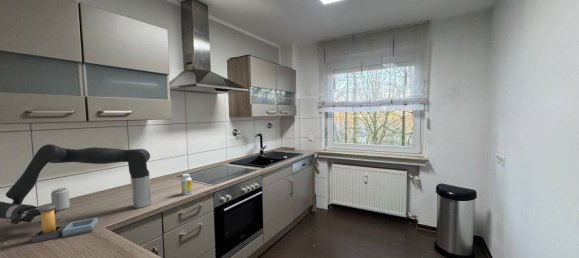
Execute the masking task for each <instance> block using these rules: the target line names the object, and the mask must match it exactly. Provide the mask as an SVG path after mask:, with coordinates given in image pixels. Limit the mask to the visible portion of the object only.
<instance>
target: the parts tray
mask: <svg viewBox="0 0 579 258" xmlns="http://www.w3.org/2000/svg"><path fill="white" fill-rule="evenodd" d="M97 225H99V221H98V217H93V218H87V219H82V220H81V219H80V220H77V221H70V223H68V225H67V226H65V229H64V230H63V231H62V232H63V233H62V238H66V237H67V238H68V237H73V236H77V235H83V234H87V233H92V232H94V230H95V228H96V227H97Z"/></svg>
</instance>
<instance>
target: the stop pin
mask: <svg viewBox="0 0 579 258" xmlns="http://www.w3.org/2000/svg"><path fill="white" fill-rule="evenodd" d="M38 208H39V207H38ZM55 208H56V206H55V205H52V204H51V205H45V206H42V207H40V208H39V212H41V216H40V218H41V219H40V220H41V229H42V232H43V234H47V233H52V232H56V227H57V225H56V216H55V215H56V214H55V213H54V209H55Z"/></svg>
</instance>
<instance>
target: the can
mask: <svg viewBox="0 0 579 258" xmlns="http://www.w3.org/2000/svg"><path fill="white" fill-rule="evenodd" d="M50 197H51V198H50V200H51V205H55V206H56V210H57V212H59V211H58V210H60V211H64V210H63V209H65V210H67V209H69V208H70V205H71V204H70V203H71V202H70V192H69V189H68V188H67V187H60V188H56V189H53V190H52V192H51V193H50ZM66 208H67V209H66Z"/></svg>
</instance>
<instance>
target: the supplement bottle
mask: <svg viewBox="0 0 579 258" xmlns="http://www.w3.org/2000/svg"><path fill="white" fill-rule="evenodd" d="M181 177H182V178H181V180H180V184H181V186H180V187H181V194H182V195H184V196H185V195H186V196H187V195H190V194H192V193H193V179H192V177H191V176H190V173H184V174H182V175H181Z"/></svg>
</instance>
